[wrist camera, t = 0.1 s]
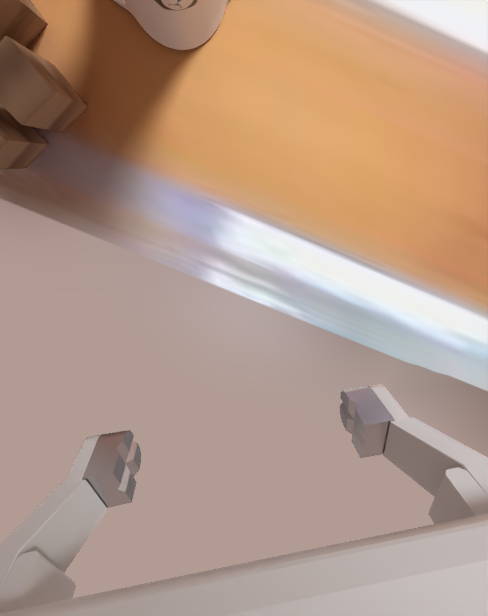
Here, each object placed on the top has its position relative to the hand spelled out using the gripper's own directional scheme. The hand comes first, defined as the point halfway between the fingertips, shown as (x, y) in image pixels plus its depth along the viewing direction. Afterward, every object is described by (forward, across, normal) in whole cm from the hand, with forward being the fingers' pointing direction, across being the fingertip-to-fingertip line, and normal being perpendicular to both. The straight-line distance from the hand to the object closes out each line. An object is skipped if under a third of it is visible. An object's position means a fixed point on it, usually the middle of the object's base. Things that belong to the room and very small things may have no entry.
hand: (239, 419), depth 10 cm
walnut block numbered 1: (+48, +21, -20) cm, 56 cm away
